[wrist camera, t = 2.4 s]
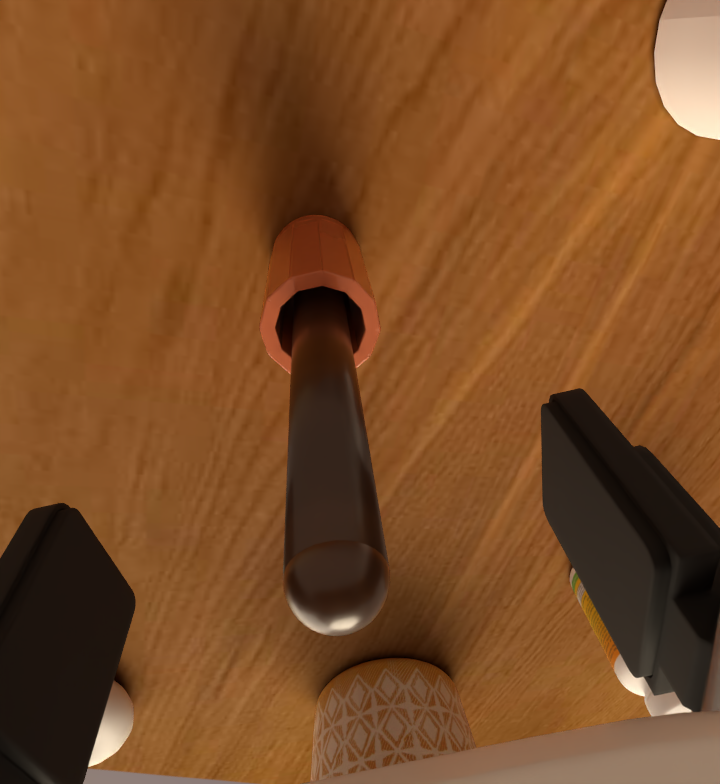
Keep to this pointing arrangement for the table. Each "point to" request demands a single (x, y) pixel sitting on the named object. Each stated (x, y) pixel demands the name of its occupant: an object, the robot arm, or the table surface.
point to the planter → (386, 717)
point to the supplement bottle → (636, 685)
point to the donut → (113, 725)
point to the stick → (330, 478)
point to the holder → (317, 284)
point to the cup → (690, 64)
